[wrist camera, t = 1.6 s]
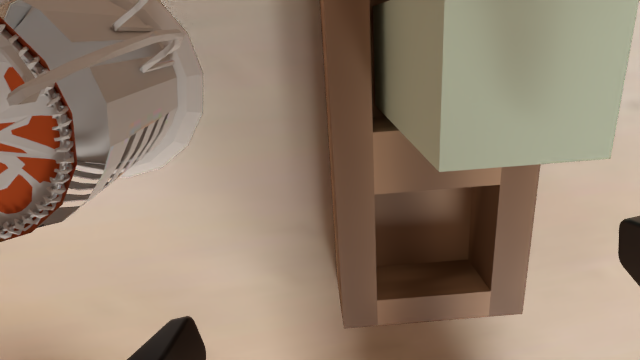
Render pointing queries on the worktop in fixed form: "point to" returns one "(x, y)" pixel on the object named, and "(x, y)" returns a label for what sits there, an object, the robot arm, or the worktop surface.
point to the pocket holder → (413, 204)
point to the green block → (503, 78)
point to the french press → (88, 101)
